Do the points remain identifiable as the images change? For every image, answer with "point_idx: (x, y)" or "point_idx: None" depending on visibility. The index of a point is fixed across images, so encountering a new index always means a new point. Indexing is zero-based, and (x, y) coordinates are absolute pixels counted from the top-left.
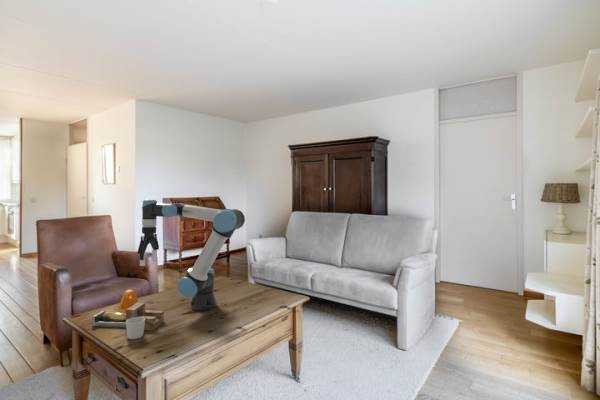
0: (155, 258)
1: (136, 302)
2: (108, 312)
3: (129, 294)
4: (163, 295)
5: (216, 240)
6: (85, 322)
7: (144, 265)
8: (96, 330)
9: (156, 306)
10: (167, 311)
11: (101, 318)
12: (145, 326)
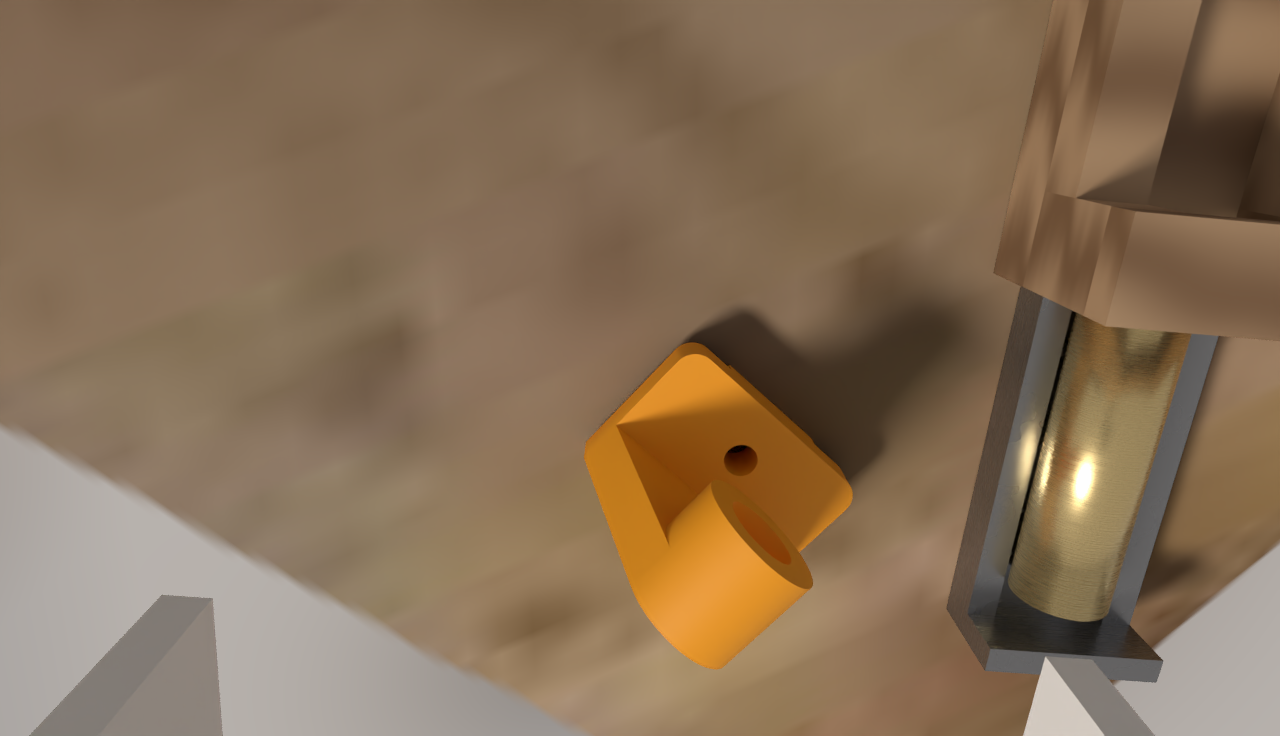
0: (164, 685)
1: (644, 463)
2: (1082, 587)
3: (793, 570)
4: (59, 312)
5: None
6: (987, 718)
7: (1094, 668)
8: (1207, 540)
9: (519, 236)
10: (707, 15)
11: (1026, 615)
12: None
